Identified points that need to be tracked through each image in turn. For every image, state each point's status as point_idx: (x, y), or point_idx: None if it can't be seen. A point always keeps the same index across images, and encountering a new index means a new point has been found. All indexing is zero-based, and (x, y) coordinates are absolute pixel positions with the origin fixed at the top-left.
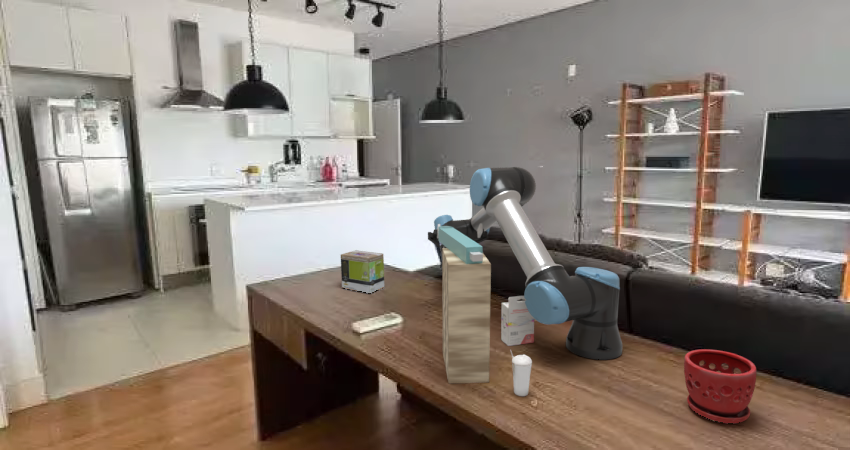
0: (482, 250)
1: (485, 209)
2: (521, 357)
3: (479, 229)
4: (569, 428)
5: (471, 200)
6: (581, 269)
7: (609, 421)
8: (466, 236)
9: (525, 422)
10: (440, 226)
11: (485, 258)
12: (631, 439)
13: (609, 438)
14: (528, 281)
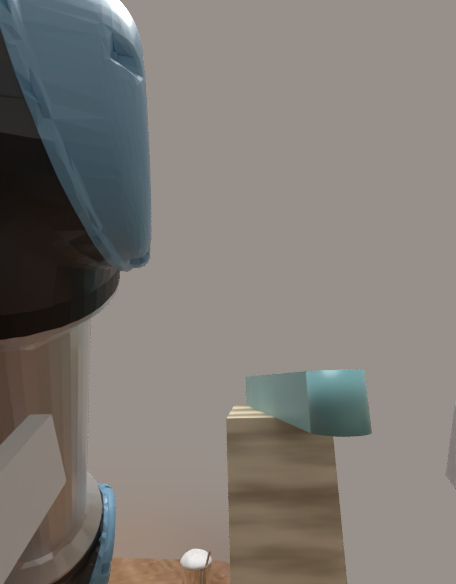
0: (246, 383)
1: (106, 297)
2: (197, 552)
3: (27, 494)
4: (173, 572)
5: (147, 206)
6: None
7: (119, 577)
8: (263, 375)
9: (217, 580)
10: (358, 369)
11: (235, 408)
12: (122, 560)
13: (142, 561)
14: (101, 511)
